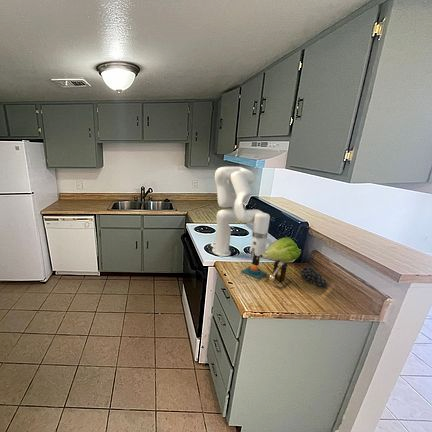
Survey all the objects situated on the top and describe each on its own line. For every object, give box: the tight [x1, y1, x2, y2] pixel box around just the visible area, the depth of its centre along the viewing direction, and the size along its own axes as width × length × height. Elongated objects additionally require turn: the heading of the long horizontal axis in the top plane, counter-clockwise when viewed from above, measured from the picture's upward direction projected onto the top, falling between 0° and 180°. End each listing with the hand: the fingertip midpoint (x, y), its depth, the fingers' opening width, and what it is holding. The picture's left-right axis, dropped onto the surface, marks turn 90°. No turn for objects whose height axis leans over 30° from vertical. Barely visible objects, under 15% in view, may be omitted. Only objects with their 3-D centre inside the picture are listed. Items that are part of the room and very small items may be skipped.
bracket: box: [272, 260, 289, 284], centre depth 133 cm, size 12×9×12 cm
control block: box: [240, 265, 267, 280], centre depth 141 cm, size 10×10×4 cm
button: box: [250, 264, 259, 271], centre depth 140 cm, size 4×4×2 cm
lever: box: [268, 262, 285, 282], centre depth 130 cm, size 13×3×3 cm, turn 128°
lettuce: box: [261, 236, 302, 263], centre depth 160 cm, size 15×25×16 cm
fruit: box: [299, 265, 329, 289], centre depth 132 cm, size 9×8×15 cm
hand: (255, 264), depth 139 cm, fingers closed
